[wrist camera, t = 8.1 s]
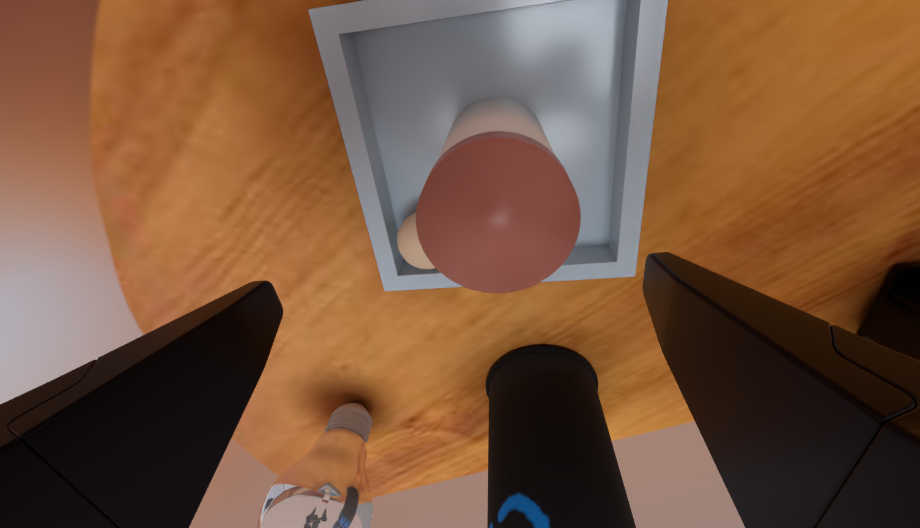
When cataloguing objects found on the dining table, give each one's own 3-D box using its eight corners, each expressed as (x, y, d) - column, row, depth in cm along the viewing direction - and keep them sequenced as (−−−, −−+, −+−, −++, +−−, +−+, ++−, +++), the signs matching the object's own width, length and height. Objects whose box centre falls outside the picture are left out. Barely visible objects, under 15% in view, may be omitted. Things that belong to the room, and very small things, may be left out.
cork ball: (454, 198, 22) (448, 223, 19) (461, 249, 23) (457, 278, 21) (398, 203, 22) (384, 228, 20) (409, 252, 24) (398, 282, 21)
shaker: (546, 88, 19) (583, 133, 11) (547, 192, 21) (578, 288, 14) (437, 101, 19) (400, 154, 12) (452, 201, 22) (430, 297, 14)
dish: (650, -41, 16) (674, -50, 14) (622, 253, 23) (634, 276, 21) (329, 10, 18) (308, 9, 16) (394, 268, 25) (384, 291, 23)
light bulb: (307, 416, 34) (226, 586, 24) (325, 365, 30) (239, 537, 20) (383, 442, 35) (337, 614, 25) (410, 394, 31) (368, 573, 21)
